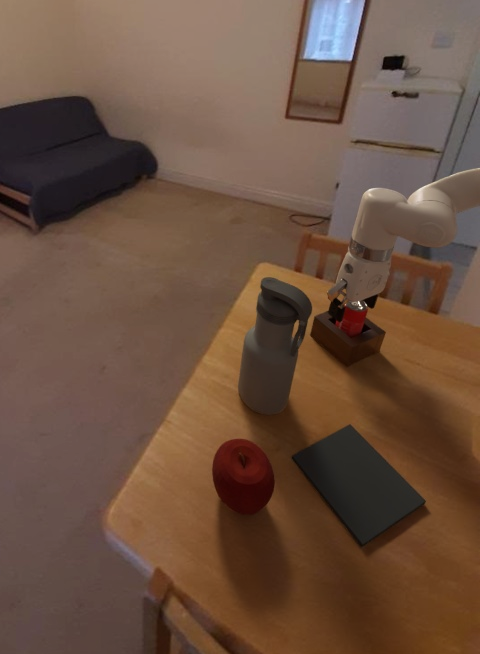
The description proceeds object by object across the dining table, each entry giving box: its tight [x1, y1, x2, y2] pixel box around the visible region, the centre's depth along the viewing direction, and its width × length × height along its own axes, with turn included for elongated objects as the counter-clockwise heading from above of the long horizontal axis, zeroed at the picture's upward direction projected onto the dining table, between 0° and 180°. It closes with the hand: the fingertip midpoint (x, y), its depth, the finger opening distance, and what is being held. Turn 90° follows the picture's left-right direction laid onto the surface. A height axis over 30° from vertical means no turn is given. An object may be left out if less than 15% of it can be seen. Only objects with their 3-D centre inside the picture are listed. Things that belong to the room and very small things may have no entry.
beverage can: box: [335, 300, 369, 338], centre depth 91 cm, size 5×5×12 cm
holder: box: [309, 310, 387, 368], centre depth 92 cm, size 10×10×6 cm
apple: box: [211, 438, 276, 516], centre depth 64 cm, size 10×10×10 cm
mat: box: [291, 423, 427, 549], centre depth 68 cm, size 14×14×1 cm
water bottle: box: [237, 276, 313, 416], centre depth 76 cm, size 10×10×28 cm
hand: (350, 310), depth 90 cm, fingers open, 9 cm apart
